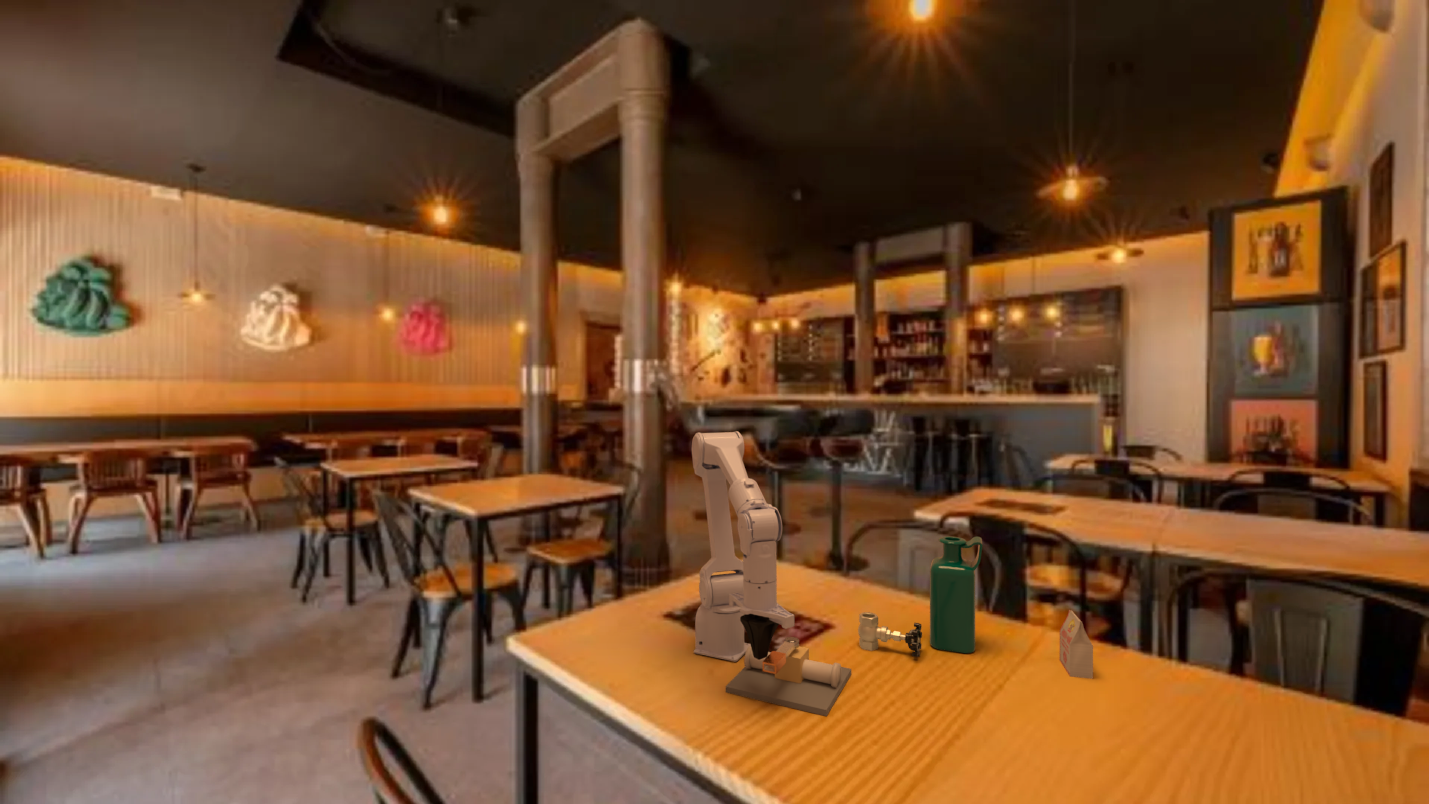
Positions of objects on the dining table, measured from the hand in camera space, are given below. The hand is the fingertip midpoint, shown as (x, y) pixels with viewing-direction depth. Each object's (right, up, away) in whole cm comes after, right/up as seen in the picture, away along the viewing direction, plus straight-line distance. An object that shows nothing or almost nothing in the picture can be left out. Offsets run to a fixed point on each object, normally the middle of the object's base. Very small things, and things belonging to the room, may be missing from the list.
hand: (760, 657), depth 106 cm
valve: (+27, -6, +17) cm, 32 cm away
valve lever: (+4, -1, 0) cm, 4 cm away
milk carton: (+59, -6, +8) cm, 60 cm away
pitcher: (+41, -6, +20) cm, 46 cm away
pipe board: (+6, -6, +5) cm, 10 cm away
